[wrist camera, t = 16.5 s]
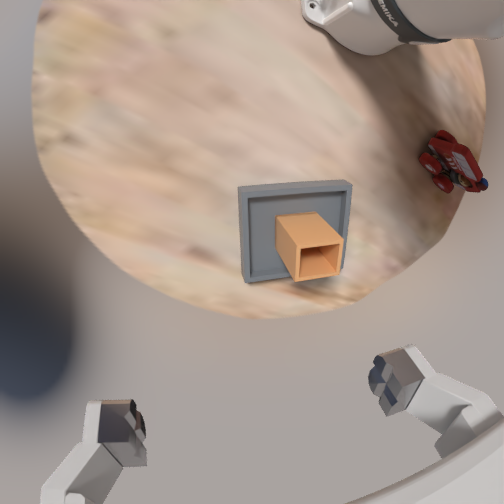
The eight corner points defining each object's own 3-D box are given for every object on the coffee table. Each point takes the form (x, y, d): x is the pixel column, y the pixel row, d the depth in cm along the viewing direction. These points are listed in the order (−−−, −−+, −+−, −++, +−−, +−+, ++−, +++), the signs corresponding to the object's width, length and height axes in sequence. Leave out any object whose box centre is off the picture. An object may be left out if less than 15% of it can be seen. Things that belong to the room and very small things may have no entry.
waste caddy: (274, 247, 46) (294, 282, 38) (275, 215, 44) (296, 245, 36) (313, 242, 47) (339, 274, 39) (315, 211, 45) (343, 239, 37)
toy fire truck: (441, 194, 50) (481, 217, 41) (409, 150, 44) (454, 168, 35) (461, 167, 48) (501, 186, 39) (431, 120, 42) (477, 134, 33)
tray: (241, 273, 48) (244, 283, 46) (237, 186, 42) (241, 192, 39) (336, 260, 51) (342, 268, 49) (344, 179, 44) (352, 184, 42)
